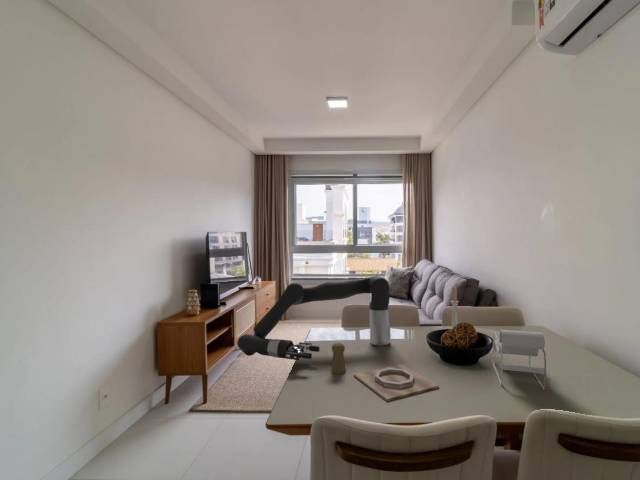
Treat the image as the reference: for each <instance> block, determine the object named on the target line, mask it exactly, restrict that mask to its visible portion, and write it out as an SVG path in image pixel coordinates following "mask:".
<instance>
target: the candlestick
mask: <svg viewBox="0 0 640 480" xmlns="http://www.w3.org/2000/svg"><path fill="white" fill-rule="evenodd" d="M457 291H458V288H457V286H452V287H451V299H452V300H450V303H451V306H452V311H451V313H452V314H451V329H452V328H453V327H454V326H456V325H457V324H458V325H459V321H458V308H457V307H458V305H459V304H458V303H459V302H460V301H459V300H458V299H457V298H458V295H457V294H458V292H457Z"/></svg>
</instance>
